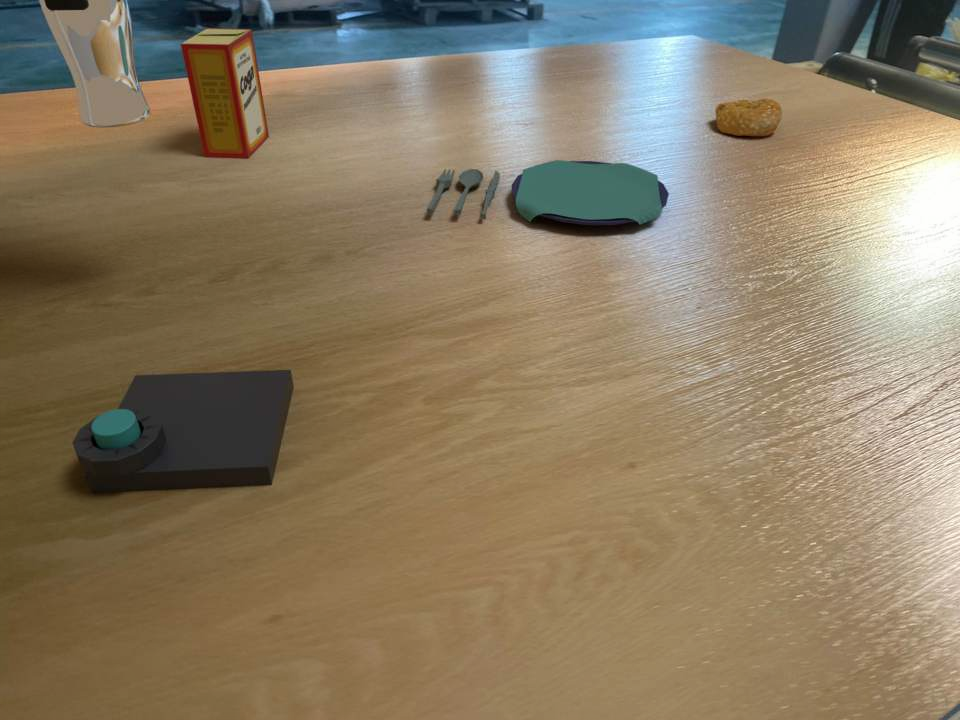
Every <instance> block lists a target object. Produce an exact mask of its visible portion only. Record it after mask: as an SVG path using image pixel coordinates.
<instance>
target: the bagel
mask: <svg viewBox="0 0 960 720" xmlns="http://www.w3.org/2000/svg"><path fill="white" fill-rule="evenodd" d="M714 112H715V120H716V121H715V122H716V127H717V129H718V130H719V131H720V132H721V133H724V134H727V135H733V136H736V137H737V136H739V137H743V136H744V137H767V136H771V135H772V134H773V133H774V132H775V131H776V130H777V129H778V126H779V125H780V123H781V120H782V118H783V110H782V106H781V105H780V103H779V102H777V101H776V100H774V99H771V98H759V99H757V100H748V99H740V100H739V99H738V100H737V101H730V102H722V103H719V104H718V105H717V106H716V107H715V109H714Z"/></svg>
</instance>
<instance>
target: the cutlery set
mask: <svg viewBox="0 0 960 720" xmlns="http://www.w3.org/2000/svg"><path fill="white" fill-rule="evenodd" d="M455 172H456V170H455V169H452V171H451V169H450V168H449V169H448V170H447V169H446V168H445V169H444V170H443V172H442V173H441V174H440V176H439V177H438V178H436V180H435V182H436V185H437V189H436V192H435V194H434V196H433V198H432V199H431V201H430V202H429V205H428V206H427V209H426V211H427V215H431V216H432V215H434V212H435V210H436V207H437V206H438V204H439V202H440V200H441V198H442V195H443V192H444V189H447V188H449V187H451V186H452V183H453V180H454V176H455ZM658 177H659V176H658V174H657V173H656V174H655V173H653V172H650V171H649V170H647V169H643V168H641V167H639V166H637V165H633V164H629V163H625V162H614V163H613V162H603V161H595V160H563V159H555V160H550V161H546V162H543V163H540V164H536V165H533V166H529V167H527V168H523V170H522V173H520V174H519V175H517V176H516V177H515V179H514V180H513V182H512V183H511V192H512V193H511V194H512V197H513V199H514V200H515V207H516V210H517V211H518V214H519V215H520V216H522V218H524V219H525V220H526V221H527V222H529V223H531V222H532V220H533V219H534V218H535V217H537V216H539V217H543V218H548V219H551V220H554V221H557V222H561V223H567V224H568V223H569V224H575V225H583V226H614V225H621V224H628V223H635V222H637V223H638V224H639V225H640V226H641V225H643V224H645V223H648V222H650V221H654V220H656V219H658V218H659V217H660V215H661V214H662V209H664V208H665V207H666V205H667V203H668V199H669V195H670V194H669V191H668V189H667V188H666V186H665V184H664V183H663V182H662V181H660V180H659V178H658ZM500 178H501V174H500V172H499V171H498V170H494V173H493V177H492V179H491V182H490V186H489V189H485V194H484V206H483V209H482V211H481V213H480V214H479V219H480V220H487V210H488V207H489V205H490V202H491V201H493V200H494V199H495V192H496V190H497V188H498V185H499V183H500ZM483 180H484V173H483V172H482V171H481V170H479V169H478V168H477V169H476V168H475V169H474V168H469V169H467V170H464V171H462V172H461V173H460V174H459V175H458V182H459V184H460V185H462V186H463V187H464V190H463V191H462V193H461V195H460V197H459V199H458V201H457V203H456V205H455V208H454V209H453V214H454V215H456V216H457V215H459V216H461V215H462V211H463V208H464V204H465V201H466V199H467V197H468V193H469V191H470V189H472V188H473V187H476V186H478V185H480V184H481V183H482V181H483Z"/></svg>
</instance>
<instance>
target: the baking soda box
mask: <svg viewBox="0 0 960 720" xmlns="http://www.w3.org/2000/svg"><path fill="white" fill-rule="evenodd" d="M255 47H256V46H255V42H254V36H253V29H249V28H209V27H208V28H206V29H204V30H201V32H199V33H197V34H195V35H193V36H192V37H190V38H188V39H187V40H184V41H183V42H181V43H180V48H181V52H182V53H181V54H182V58H183V62H184V66H185V67H184V68H185V71H186V75H187V80H188V84H189V89H190V94H191V99H192V103H193V108H194V113H195V118H196V122H197V127H198V131H199V137H200V142H201V145H202V150H203V155H204V157H205V158H220V159H221V158H222V159H223V158H224V159H225V158H226V159H250V158H251V156H252V155H253V154H254V153H255V152H256V151H258V149H259V148H260V147H261V146H262V145H263V144H264V142H266V140H268V138H269V137H270V134H269V128H268V121H267V115H266V109H265V104H264V103H265V102H264V97H263V90H262V85H261V78H260V74H259V67H258V59H257V55H256V48H255Z"/></svg>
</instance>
